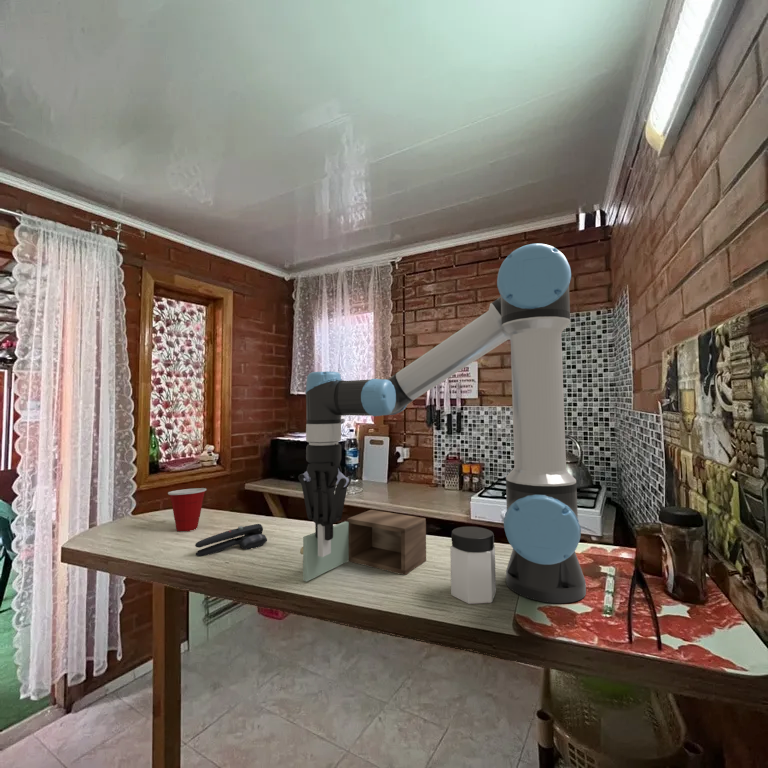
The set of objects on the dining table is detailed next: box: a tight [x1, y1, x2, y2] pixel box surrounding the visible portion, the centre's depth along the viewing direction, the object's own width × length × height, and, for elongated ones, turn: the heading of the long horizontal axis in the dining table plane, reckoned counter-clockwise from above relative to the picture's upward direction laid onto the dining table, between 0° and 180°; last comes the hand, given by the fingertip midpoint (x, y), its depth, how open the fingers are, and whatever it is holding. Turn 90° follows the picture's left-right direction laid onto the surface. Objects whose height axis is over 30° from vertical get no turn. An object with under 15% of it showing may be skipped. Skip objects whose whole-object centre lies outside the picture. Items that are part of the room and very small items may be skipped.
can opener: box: [194, 523, 268, 557], centre depth 109 cm, size 18×7×6 cm, turn 125°
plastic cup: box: [167, 487, 207, 532], centre depth 127 cm, size 11×11×12 cm
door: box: [299, 520, 350, 582], centre depth 94 cm, size 14×3×9 cm, turn 146°
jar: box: [450, 526, 497, 605], centre depth 82 cm, size 9×8×12 cm
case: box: [346, 509, 427, 576], centre depth 100 cm, size 16×10×10 cm, turn 57°
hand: (324, 554), depth 89 cm, fingers closed
